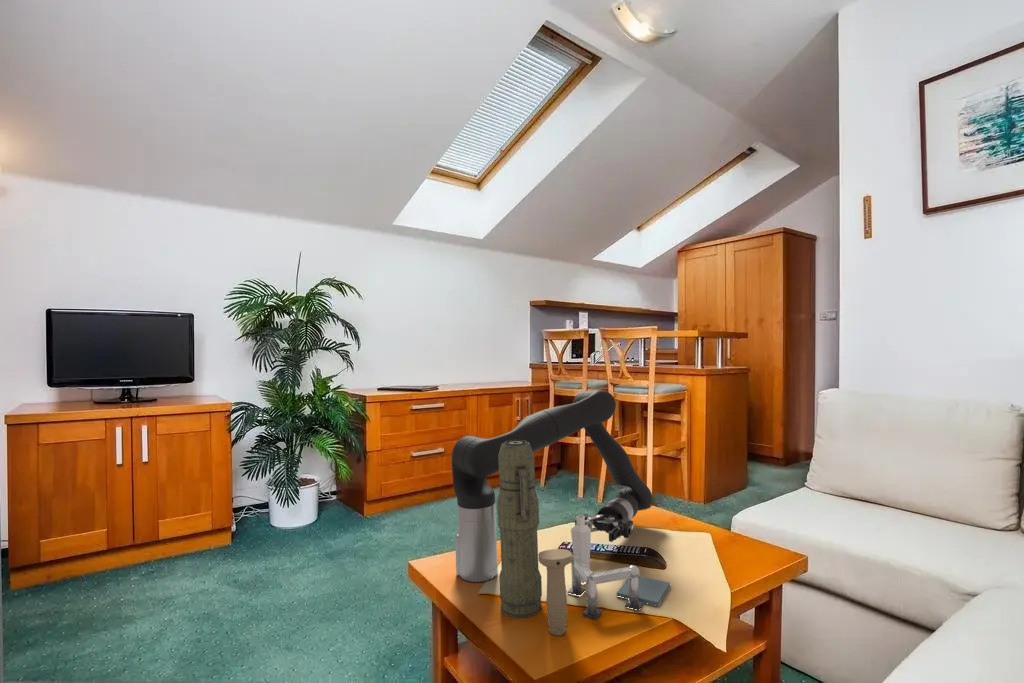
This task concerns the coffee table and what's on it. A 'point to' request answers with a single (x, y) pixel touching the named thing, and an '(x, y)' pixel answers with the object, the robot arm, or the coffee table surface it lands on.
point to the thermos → (518, 531)
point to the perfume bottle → (581, 540)
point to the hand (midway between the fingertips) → (593, 534)
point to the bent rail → (602, 577)
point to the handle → (556, 588)
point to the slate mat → (647, 590)
